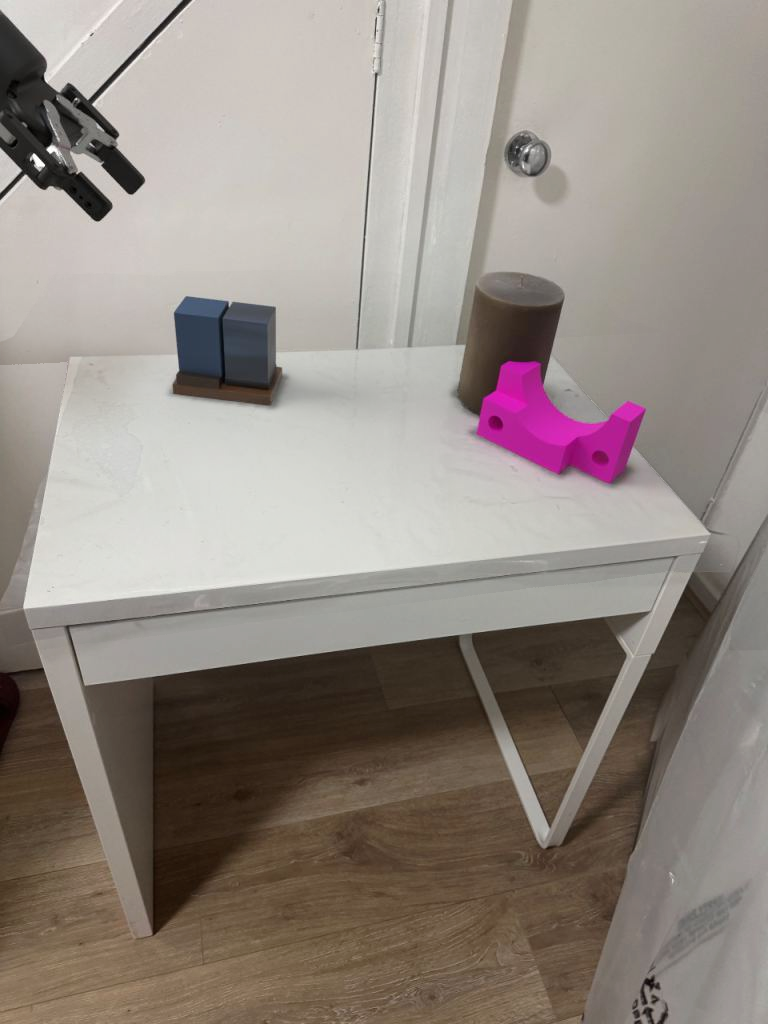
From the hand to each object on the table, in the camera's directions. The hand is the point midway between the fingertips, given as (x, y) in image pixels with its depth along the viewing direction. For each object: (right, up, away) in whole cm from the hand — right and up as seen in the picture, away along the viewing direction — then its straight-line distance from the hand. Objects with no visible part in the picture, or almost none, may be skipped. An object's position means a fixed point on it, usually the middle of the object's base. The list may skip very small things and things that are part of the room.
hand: (123, 201), depth 71 cm
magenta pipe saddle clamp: (+42, -23, +12) cm, 49 cm away
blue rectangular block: (+4, -13, +16) cm, 21 cm away
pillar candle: (+38, -16, +19) cm, 45 cm away
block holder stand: (+7, -14, +16) cm, 23 cm away
